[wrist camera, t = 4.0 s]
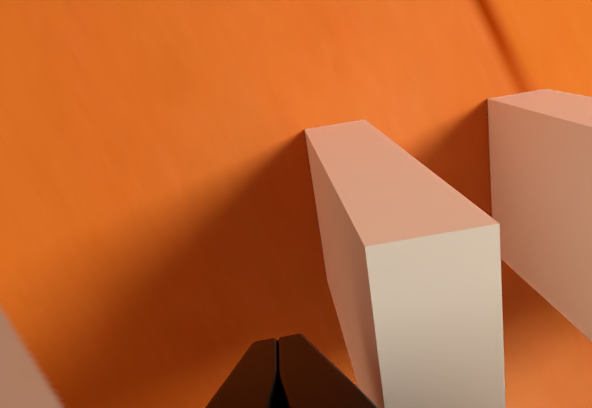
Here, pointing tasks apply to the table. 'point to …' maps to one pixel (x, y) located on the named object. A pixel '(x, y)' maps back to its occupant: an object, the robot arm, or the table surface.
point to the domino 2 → (545, 195)
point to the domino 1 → (408, 273)
